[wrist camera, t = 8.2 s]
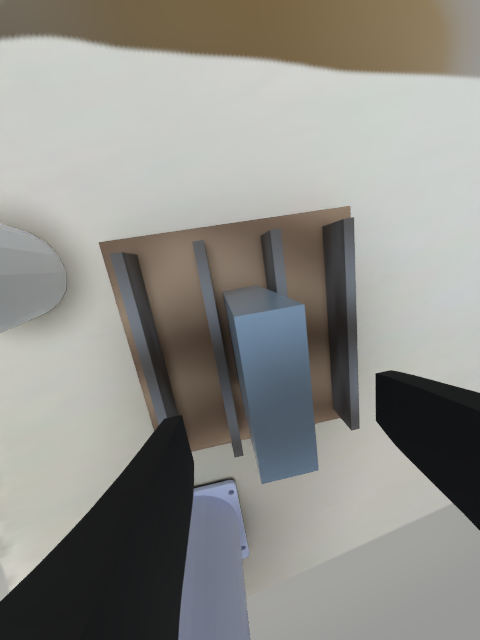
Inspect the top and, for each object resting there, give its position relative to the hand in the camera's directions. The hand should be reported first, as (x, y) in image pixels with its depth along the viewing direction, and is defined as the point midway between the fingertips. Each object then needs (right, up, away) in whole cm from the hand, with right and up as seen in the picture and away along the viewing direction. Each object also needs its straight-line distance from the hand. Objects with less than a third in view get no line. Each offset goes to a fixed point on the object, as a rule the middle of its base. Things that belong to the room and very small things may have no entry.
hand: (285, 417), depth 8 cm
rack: (-1, +2, +9) cm, 10 cm away
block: (-1, +2, +8) cm, 8 cm away
